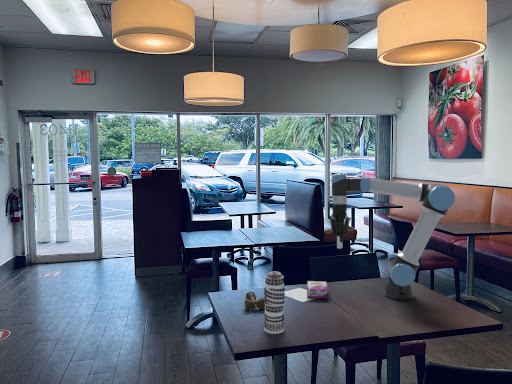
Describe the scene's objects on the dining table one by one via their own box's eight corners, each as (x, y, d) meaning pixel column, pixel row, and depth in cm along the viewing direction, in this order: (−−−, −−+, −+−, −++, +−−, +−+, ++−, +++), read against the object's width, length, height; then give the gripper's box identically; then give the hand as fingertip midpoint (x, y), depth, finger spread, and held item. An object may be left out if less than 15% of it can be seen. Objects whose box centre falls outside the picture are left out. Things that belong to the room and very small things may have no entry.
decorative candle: (289, 329, 178) (289, 272, 176) (275, 336, 171) (276, 277, 169) (272, 323, 184) (273, 268, 182) (259, 330, 177) (259, 273, 175)
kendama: (259, 301, 216) (267, 313, 196) (241, 302, 214) (247, 315, 194) (259, 289, 215) (266, 301, 196) (241, 291, 214) (246, 303, 194)
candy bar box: (307, 289, 217) (306, 280, 233) (307, 298, 217) (306, 289, 233) (328, 289, 215) (326, 281, 232) (328, 299, 216) (326, 289, 232)
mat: (323, 296, 222) (323, 295, 222) (302, 302, 212) (302, 302, 212) (299, 288, 236) (299, 287, 236) (278, 293, 226) (278, 293, 226)
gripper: (324, 203, 217) (325, 247, 219) (345, 204, 207) (345, 251, 209) (333, 202, 222) (334, 245, 224) (354, 203, 212) (354, 248, 214)
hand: (339, 248), depth 216 cm, fingers closed
